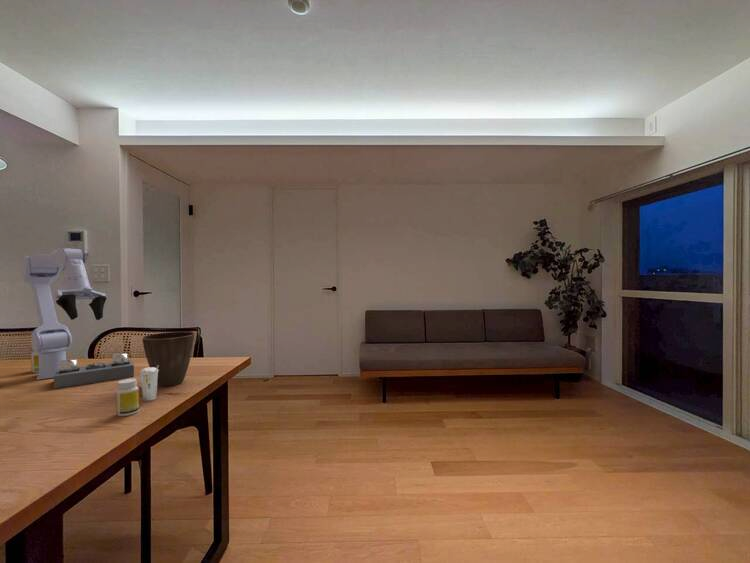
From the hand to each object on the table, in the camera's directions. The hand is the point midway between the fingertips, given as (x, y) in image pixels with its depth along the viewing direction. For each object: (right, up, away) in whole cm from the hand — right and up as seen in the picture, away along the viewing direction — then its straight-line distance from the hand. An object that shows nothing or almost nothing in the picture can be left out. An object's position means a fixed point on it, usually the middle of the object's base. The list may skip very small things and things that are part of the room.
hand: (87, 318), depth 112 cm
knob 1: (-11, -19, +6) cm, 23 cm away
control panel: (-6, -22, +11) cm, 25 cm away
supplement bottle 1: (-35, -22, +21) cm, 47 cm away
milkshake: (+27, -22, -11) cm, 37 cm away
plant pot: (+24, -22, +5) cm, 33 cm away
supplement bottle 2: (+27, -23, -21) cm, 41 cm away
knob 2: (0, -19, +15) cm, 24 cm away
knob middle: (-6, -22, +11) cm, 25 cm away
